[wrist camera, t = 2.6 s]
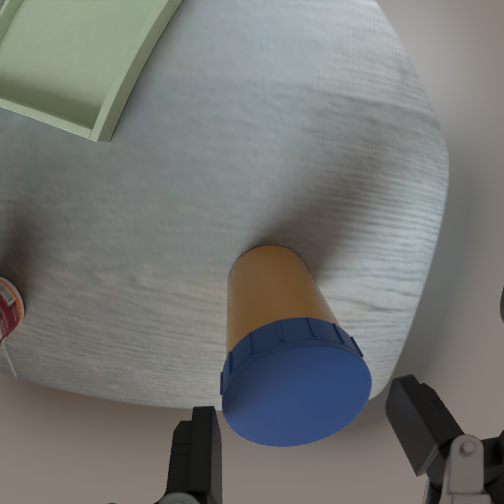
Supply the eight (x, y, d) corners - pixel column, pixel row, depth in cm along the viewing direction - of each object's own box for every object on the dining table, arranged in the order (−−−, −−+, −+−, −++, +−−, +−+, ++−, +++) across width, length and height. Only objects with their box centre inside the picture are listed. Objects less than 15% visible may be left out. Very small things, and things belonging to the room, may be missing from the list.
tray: (187, -7, 14) (182, -21, 12) (109, 142, 17) (96, 142, 15) (39, -26, 11) (27, -35, 9) (-20, 96, 15) (-36, 95, 13)
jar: (308, 241, 20) (373, 330, 10) (308, 314, 22) (354, 425, 12) (223, 248, 20) (216, 350, 10) (231, 322, 22) (234, 442, 12)
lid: (365, 306, 12) (384, 332, 10) (349, 406, 14) (360, 434, 12) (212, 323, 11) (209, 354, 10) (230, 422, 13) (230, 452, 12)
